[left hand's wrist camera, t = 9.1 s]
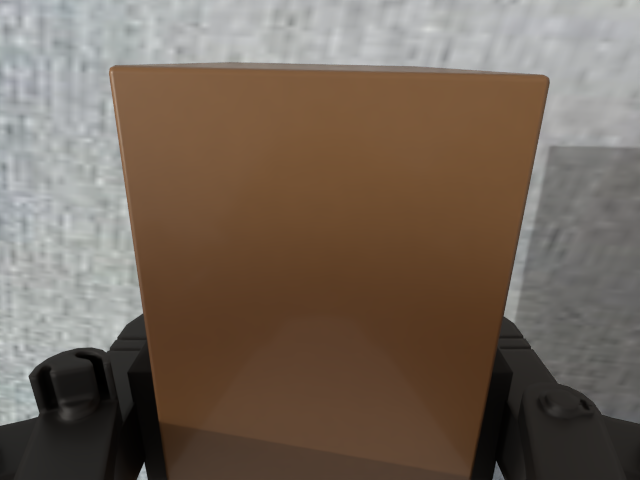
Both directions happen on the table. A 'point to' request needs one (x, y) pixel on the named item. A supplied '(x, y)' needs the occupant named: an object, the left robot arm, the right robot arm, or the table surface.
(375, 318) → the post
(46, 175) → the table surface
